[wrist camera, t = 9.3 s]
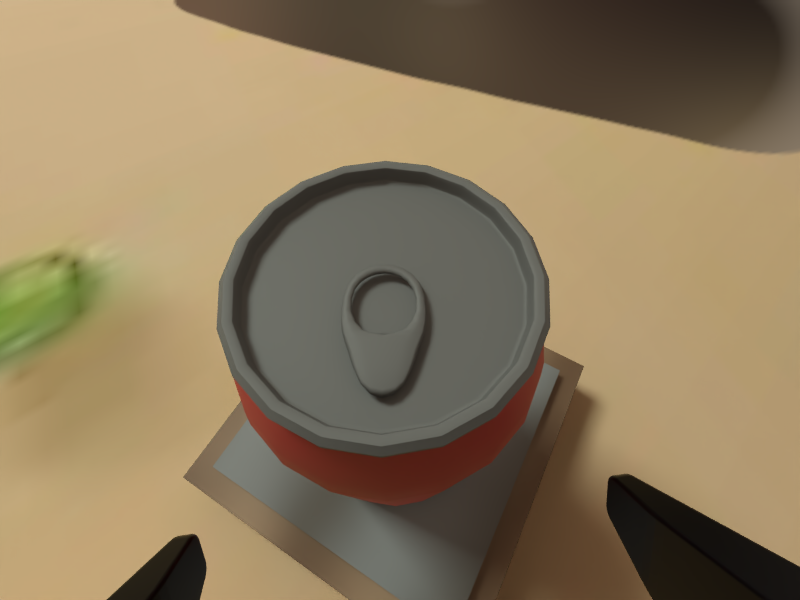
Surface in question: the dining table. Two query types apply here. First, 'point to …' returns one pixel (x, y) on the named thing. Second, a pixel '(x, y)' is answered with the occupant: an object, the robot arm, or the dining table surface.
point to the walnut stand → (394, 509)
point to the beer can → (385, 329)
